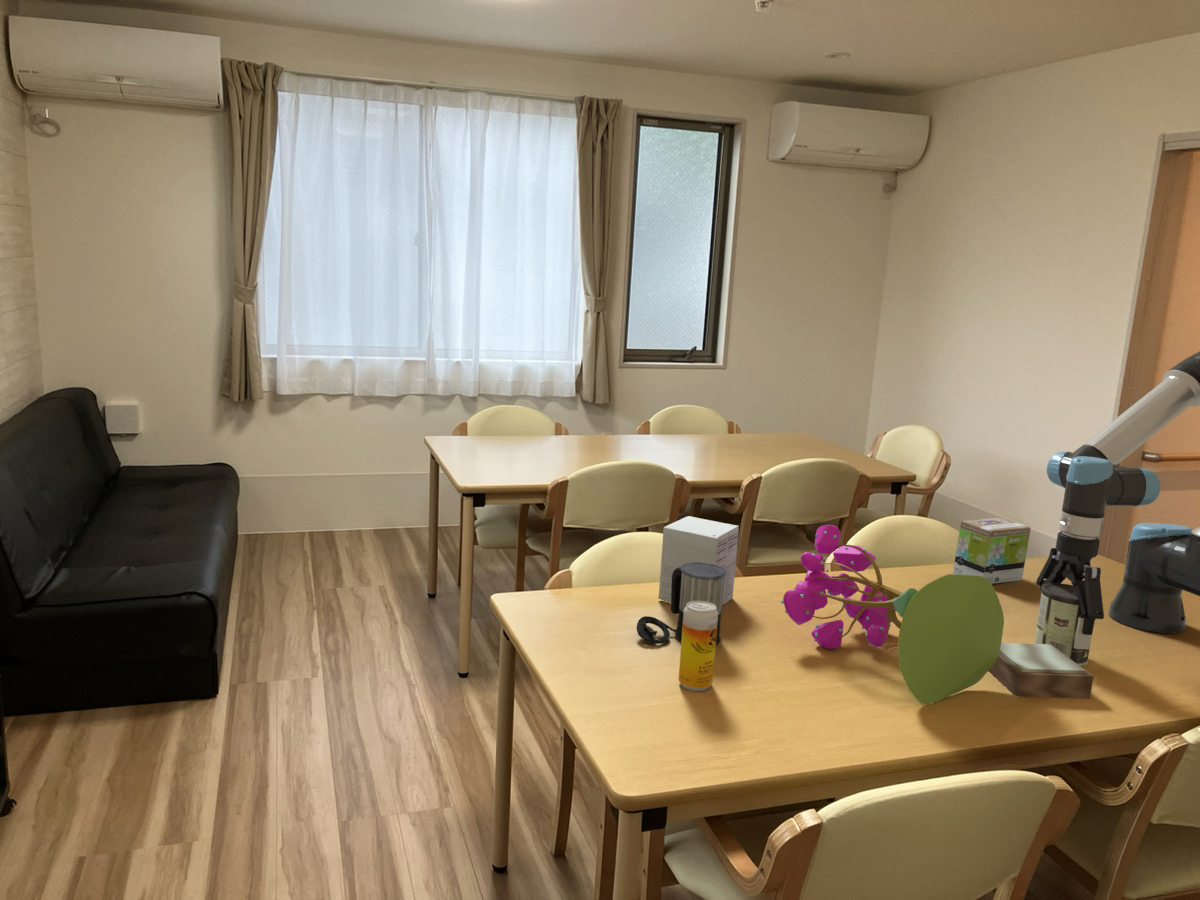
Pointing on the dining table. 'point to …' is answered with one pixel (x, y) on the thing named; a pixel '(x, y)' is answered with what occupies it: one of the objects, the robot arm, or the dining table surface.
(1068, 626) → the coffee can
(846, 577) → the magenta flower sprig
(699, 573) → the milk frother
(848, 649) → the dining table surface
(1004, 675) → the tray
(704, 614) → the beer can
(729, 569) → the supplement box
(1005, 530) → the tea box
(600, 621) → the dining table surface
